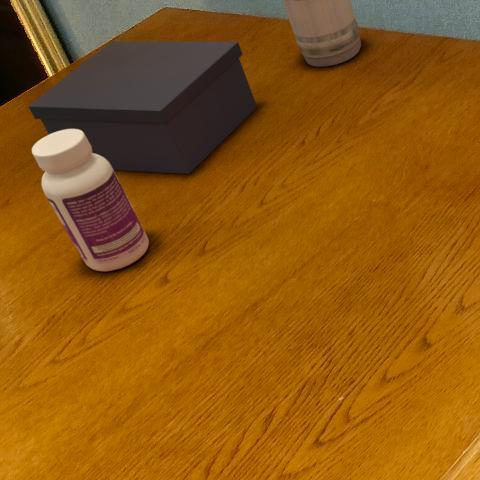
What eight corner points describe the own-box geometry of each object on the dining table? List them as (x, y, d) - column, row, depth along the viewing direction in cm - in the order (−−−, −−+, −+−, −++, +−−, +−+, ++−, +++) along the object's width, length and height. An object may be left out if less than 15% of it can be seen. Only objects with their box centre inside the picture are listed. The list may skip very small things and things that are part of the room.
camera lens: (366, 35, 102) (343, -48, 96) (360, 62, 98) (336, -23, 92) (307, 45, 103) (280, -37, 97) (298, 72, 99) (270, -12, 93)
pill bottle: (163, 236, 82) (107, 122, 74) (130, 274, 78) (68, 160, 71) (108, 234, 83) (48, 123, 76) (73, 272, 80) (7, 160, 73)
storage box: (61, 169, 93) (27, 106, 88) (139, 102, 100) (111, 41, 95) (190, 176, 88) (160, 110, 83) (261, 105, 95) (238, 41, 90)
